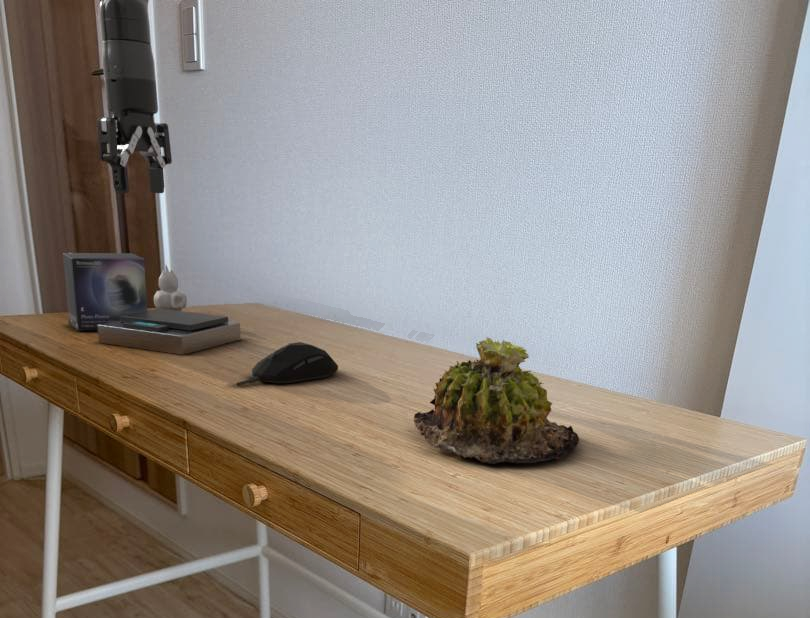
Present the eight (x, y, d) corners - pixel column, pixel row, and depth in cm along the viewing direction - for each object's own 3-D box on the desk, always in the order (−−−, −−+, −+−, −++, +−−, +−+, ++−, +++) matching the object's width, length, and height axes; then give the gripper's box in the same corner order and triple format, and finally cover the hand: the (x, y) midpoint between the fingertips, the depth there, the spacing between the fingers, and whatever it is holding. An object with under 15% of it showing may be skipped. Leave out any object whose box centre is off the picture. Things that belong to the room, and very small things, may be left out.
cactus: (601, 470, 74) (617, 359, 70) (423, 466, 72) (429, 354, 68) (552, 418, 89) (563, 325, 86) (405, 414, 88) (409, 320, 84)
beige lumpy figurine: (176, 310, 145) (173, 262, 141) (196, 315, 140) (193, 266, 137) (147, 312, 141) (144, 263, 138) (166, 318, 137) (163, 267, 134)
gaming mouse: (220, 381, 98) (219, 346, 96) (313, 365, 108) (314, 334, 106) (255, 391, 94) (254, 355, 92) (348, 374, 104) (348, 342, 103)
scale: (98, 342, 115) (96, 319, 114) (162, 329, 127) (161, 308, 126) (183, 355, 110) (181, 330, 109) (240, 339, 122) (240, 317, 121)
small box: (78, 332, 121) (70, 256, 117) (68, 325, 126) (60, 252, 122) (150, 329, 127) (145, 256, 122) (138, 322, 132) (133, 252, 127)
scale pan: (119, 321, 117) (119, 315, 116) (160, 313, 124) (160, 308, 124) (191, 330, 113) (191, 324, 112) (228, 322, 120) (228, 316, 120)
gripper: (140, 83, 134) (150, 192, 140) (76, 72, 121) (90, 192, 128) (179, 82, 131) (187, 194, 137) (118, 71, 119) (129, 194, 125)
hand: (140, 193), depth 133 cm, fingers open, 8 cm apart
